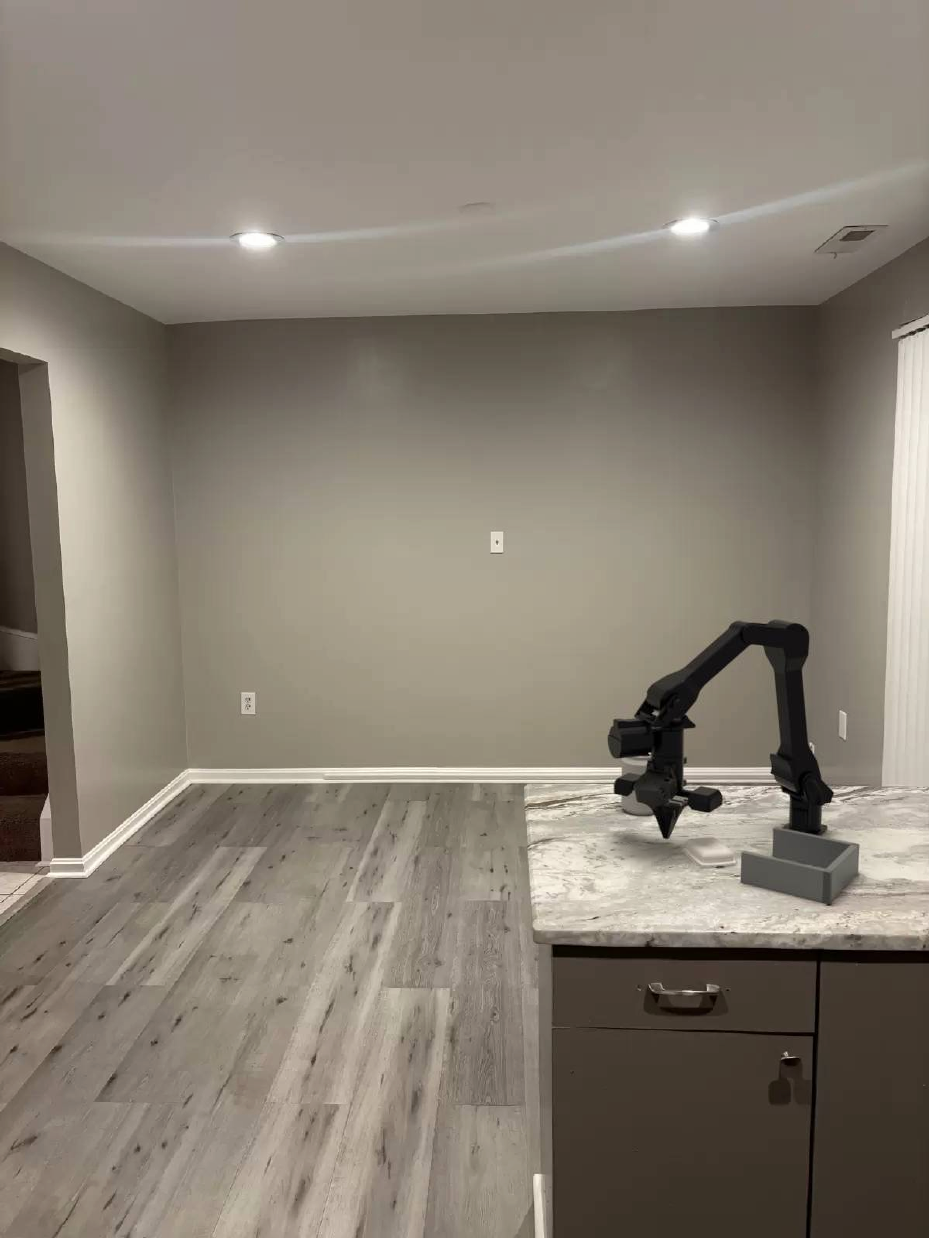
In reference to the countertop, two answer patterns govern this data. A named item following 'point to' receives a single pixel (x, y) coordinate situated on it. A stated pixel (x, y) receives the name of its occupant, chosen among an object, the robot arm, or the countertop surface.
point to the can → (630, 803)
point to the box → (803, 865)
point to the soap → (709, 852)
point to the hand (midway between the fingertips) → (666, 838)
